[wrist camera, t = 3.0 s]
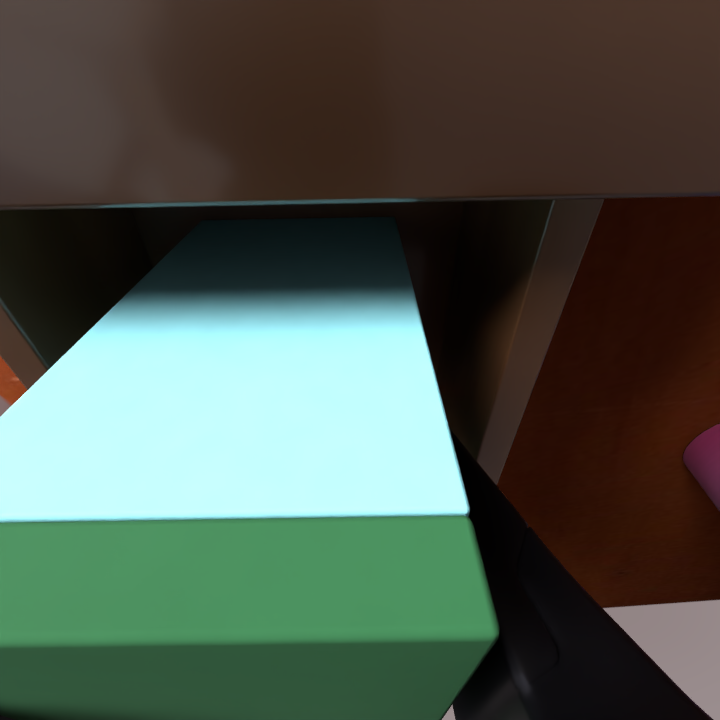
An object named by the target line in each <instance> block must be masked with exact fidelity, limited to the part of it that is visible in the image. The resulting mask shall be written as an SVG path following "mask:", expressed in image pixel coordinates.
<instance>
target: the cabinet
mask: <svg viewBox="0 0 720 720" xmlns="http://www.w3.org/2000/svg"><path fill="white" fill-rule="evenodd" d="M669 197H720V0H0V210H49V209H100V208H152V207H204V206H255V205H307V204H359V203H410V202H462V201H514V200H565V199H617V198H669Z"/></svg>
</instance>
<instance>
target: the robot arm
mask: <svg viewBox="0 0 720 720" xmlns="http://www.w3.org/2000/svg"><path fill="white" fill-rule="evenodd" d="M449 429H450V428H449ZM450 432H451V436H452V440H453V444H454V448H455V452H456V456H457V460H458V463H459V467H460V471H461V475H462V479H463V483H464V487H465V490H466V494H467V498H468V502H469V506H470V512H469V516H468V517H469V518H470V520H471V521H472V523H473V525H474V529H475V533H476V537H477V541H478V545H479V549H480V553H481V556H482V560H483V564H484V568H485V572H486V576H487V580H488V584H489V588H490V592H491V595H492V599H493V603H494V607H495V611H496V615H497V619H498V623H499V627H500V631H499V638H498V640H497V641H496V643H495V644H494V646H493V647H492V648H491V650H490V651H489V653H488V654H487V655H486V657H485V658H484V660H483V661H482V663H481V664H480V665H479V667H478V668H477V670H476V671H475V673H474V674H473V675H472V677H471V678H470V680H469V681H468V683H467V684H466V685H465V687H464V688H463V690H462V691H461V693H460V694H459V695H458V697H457V698H456V700H455V701H454V703H453V709H454V714H455V719H456V720H713V719H712V718H711V717H710V716H709V715H707V714H706V713H705V712H704V711H703V710H702V709H701V708H700V707H699V706H698V705H696V704H695V703H694V702H693V701H692V700H691V699H690V698H689V697H688V696H687V695H686V694H685V693H684V692H683V691H682V690H681V689H680V688H679V687H678V686H677V685H676V684H675V683H674V682H673V681H672V680H671V679H670V678H669V677H668V676H667V675H666V673H664V671H662V669H661V668H660V667H659V666H658V665H657V664H656V663H655V662H654V661H653V660H652V659H651V658H650V657H649V656H648V655H647V654H646V653H645V652H644V651H643V650H642V649H641V648H640V647H639V646H638V645H637V644H636V643H635V641H634V640H633V639H632V638H631V637H630V636H629V635H628V634H627V633H626V632H625V631H624V630H623V629H622V628H621V627H620V626H619V625H618V624H617V623H616V622H615V621H614V620H613V619H612V618H611V617H610V616H609V615H608V614H607V613H606V612H605V611H604V609H603V608H602V607H601V606H600V605H599V604H598V603H597V602H596V601H595V600H594V599H593V598H592V597H591V596H590V595H589V594H588V593H587V591H586V590H585V589H584V588H583V587H582V586H581V585H580V584H579V583H578V582H577V581H576V580H575V579H574V578H573V577H572V575H571V574H570V573H569V572H568V571H567V570H566V569H565V567H564V566H563V565H562V564H561V563H560V562H559V560H558V559H557V558H556V557H555V556H554V555H553V553H552V552H551V551H550V550H549V549H548V548H547V546H546V545H545V544H544V543H543V542H542V540H541V539H540V538H539V537H538V535H537V534H536V533H535V532H534V530H533V529H532V528H531V527H528V524H527V522H526V521H525V520H524V518H523V517H522V516H521V515H520V514H519V512H518V511H517V510H516V509H515V507H514V506H513V505H512V504H511V502H510V501H509V500H508V499H507V498H506V496H505V495H504V494H503V493H502V491H501V490H500V489H499V488H498V487H497V485H496V484H495V483H494V482H493V480H492V479H491V478H490V477H489V476H488V474H487V473H486V472H485V471H484V469H483V468H482V467H481V466H480V465H479V463H478V462H477V461H476V460H475V458H474V457H473V456H472V455H471V454H470V452H469V451H468V450H467V449H466V447H465V446H464V445H463V444H462V443H461V441H460V440H459V439H458V438H457V436H456V435H455V434H454V433H453V431H452V430H451V429H450ZM527 527H528V528H527ZM0 720H15V719H11V718H8V717H5V716H1V715H0Z"/></svg>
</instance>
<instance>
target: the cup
mask: <svg viewBox="0 0 720 720" xmlns="http://www.w3.org/2000/svg"><path fill="white" fill-rule="evenodd" d="M683 461H684V464H685V465H686V466H687V468H688V469H689V471H690V472H691V473H692V475H693V476H694V477H695V479H696V480H697V481H698V483H699V484H700V486H701V487H702V488H703V490H704V491H705V492H706V494H707V495H708V496H709V498H710V499H711V501H712V502H713V503H714V505H715V506H716V507H717V509H718V510H719V511H720V424H717V425H715V426H713V427H711V428H710V429H708V430H706V431H704V432H703V433H702V434H700V435H699V436H697V437H696V438H695V439H694V440H693V441H692V442H691V443H690V444H689V445H688V446H687V448H686V449H685V452H684V454H683Z"/></svg>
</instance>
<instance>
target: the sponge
mask: <svg viewBox="0 0 720 720" xmlns="http://www.w3.org/2000/svg"><path fill="white" fill-rule="evenodd" d="M469 512H470V506H469V502H468V498H467V494H466V490H465V487H464V483H463V479H462V475H461V471H460V467H459V463H458V460H457V456H456V452H455V448H454V444H453V440H452V436H451V432H450V429H449V425H448V421H447V417H446V413H445V409H444V405H443V402H442V398H441V394H440V390H439V386H438V382H437V378H436V374H435V371H434V367H433V363H432V359H431V355H430V351H429V347H428V343H427V340H426V336H425V332H424V328H423V324H422V320H421V316H420V313H419V309H418V305H417V301H416V297H415V293H414V289H413V285H412V282H411V278H410V274H409V270H408V266H407V262H406V258H405V255H404V251H403V247H402V243H401V239H400V235H399V231H398V227H397V224H396V220H395V217H353V218H300V219H248V220H202V221H201V222H200V223H199V224H198V225H197V226H196V227H195V228H194V229H193V230H192V231H191V232H190V233H188V234H187V235H186V236H185V237H184V238H183V239H182V240H181V241H180V242H179V243H178V244H177V245H176V246H175V247H174V248H173V249H172V250H171V251H170V252H169V253H168V254H167V255H166V256H165V257H164V258H163V259H162V260H161V261H160V262H159V263H158V264H157V265H156V266H155V267H154V268H153V269H152V270H151V271H150V272H149V273H148V274H146V275H145V276H144V277H143V278H142V279H141V280H140V281H139V282H138V283H137V284H136V285H135V286H134V287H133V288H132V289H131V290H130V291H129V292H128V293H127V294H126V295H125V296H124V297H123V298H122V299H121V300H120V301H119V302H118V303H117V304H116V305H115V306H114V307H113V308H112V309H111V310H110V311H109V312H108V313H107V314H106V315H104V316H103V317H102V318H101V319H100V320H99V321H98V322H97V323H96V324H95V325H94V326H93V327H92V328H91V329H90V330H89V331H88V332H87V333H86V334H85V335H84V336H83V337H82V338H81V339H80V340H79V341H78V342H77V343H76V344H75V345H74V346H73V347H72V348H71V349H70V350H69V351H68V352H67V353H66V354H65V355H64V356H62V357H61V358H60V359H59V360H58V361H57V362H56V363H55V364H54V365H53V366H52V367H51V368H50V369H49V370H48V371H47V372H46V373H45V374H44V375H43V376H42V377H41V378H40V379H39V380H38V381H37V382H36V383H35V384H34V385H33V386H32V387H31V388H30V389H29V390H28V391H27V392H26V393H25V394H24V395H23V396H22V397H21V398H19V399H18V400H17V401H16V402H15V403H14V404H13V405H12V406H11V407H10V408H9V409H8V410H7V412H5V413H4V414H3V415H2V416H1V417H0V715H1V716H5V717H8V718H11V719H15V720H442V718H443V717H444V715H445V714H446V713H447V711H448V710H449V708H450V707H451V705H452V704H453V703H454V701H455V700H456V698H457V697H458V695H459V694H460V693H461V691H462V690H463V688H464V687H465V685H466V684H467V683H468V681H469V680H470V678H471V677H472V675H473V674H474V673H475V671H476V670H477V668H478V667H479V665H480V664H481V663H482V661H483V660H484V658H485V657H486V655H487V654H488V653H489V651H490V650H491V648H492V647H493V646H494V644H495V643H496V641H497V640H498V638H499V631H500V627H499V623H498V619H497V615H496V611H495V607H494V603H493V599H492V595H491V592H490V588H489V584H488V580H487V576H486V572H485V568H484V564H483V560H482V556H481V553H480V549H479V545H478V541H477V537H476V533H475V529H474V525H473V523H472V521H471V520H470V518H469V517H468V516H469Z"/></svg>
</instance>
